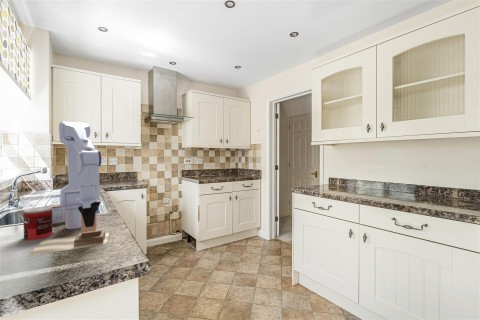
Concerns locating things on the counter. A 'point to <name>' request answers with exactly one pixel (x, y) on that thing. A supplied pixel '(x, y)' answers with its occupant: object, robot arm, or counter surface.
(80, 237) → the board
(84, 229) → the block
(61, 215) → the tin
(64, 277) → the counter surface
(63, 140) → the robot arm
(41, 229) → the canned food
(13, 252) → the counter surface
